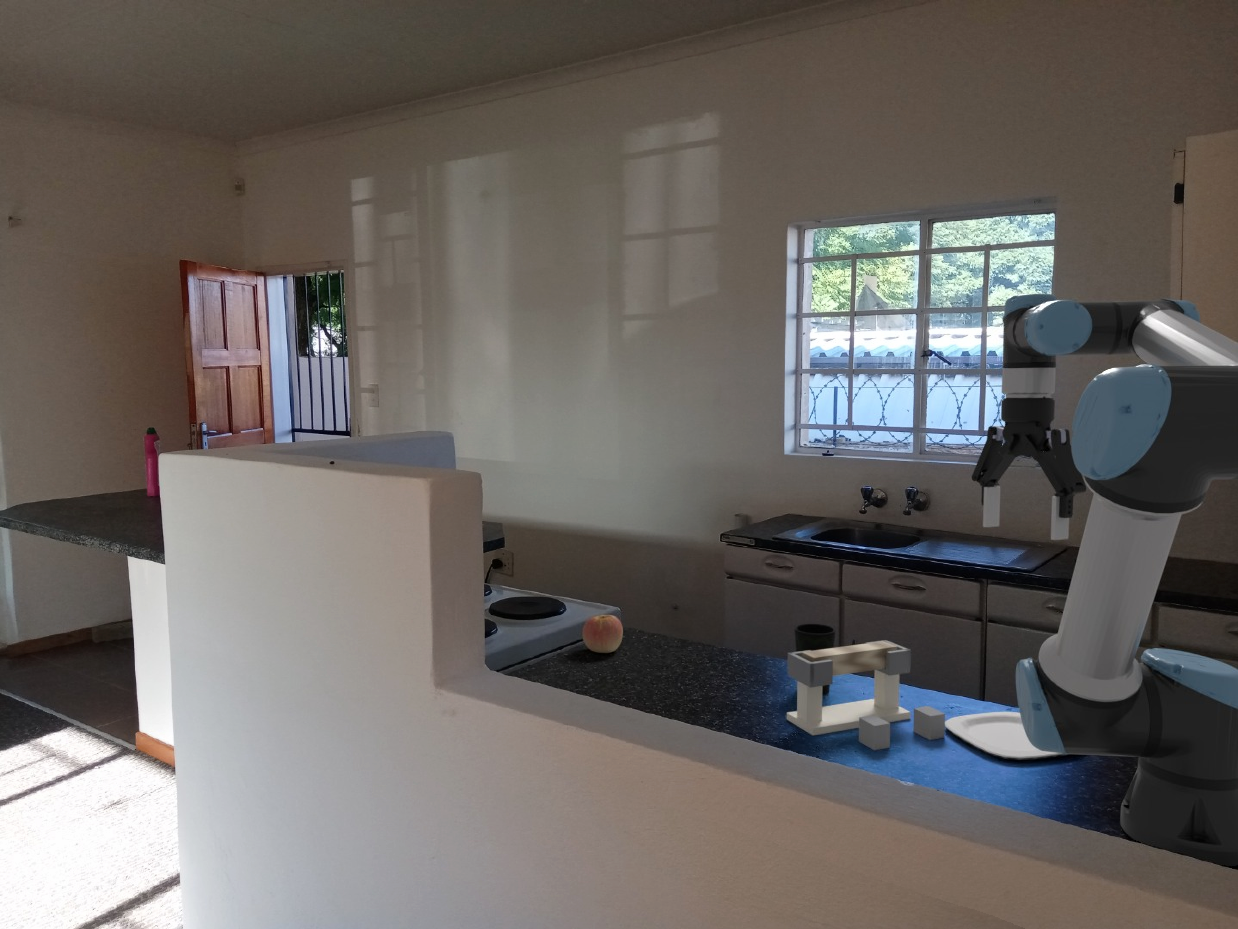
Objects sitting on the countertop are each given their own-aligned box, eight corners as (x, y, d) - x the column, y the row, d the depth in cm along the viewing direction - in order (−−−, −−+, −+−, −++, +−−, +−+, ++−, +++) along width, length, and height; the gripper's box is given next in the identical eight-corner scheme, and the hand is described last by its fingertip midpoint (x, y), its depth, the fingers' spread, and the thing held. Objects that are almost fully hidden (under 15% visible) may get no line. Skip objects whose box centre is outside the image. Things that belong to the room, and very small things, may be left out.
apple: (617, 658, 194) (617, 621, 193) (578, 655, 196) (577, 619, 195) (627, 647, 202) (626, 611, 201) (588, 644, 204) (588, 609, 203)
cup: (835, 698, 167) (836, 635, 166) (793, 696, 169) (794, 633, 168) (834, 685, 175) (834, 624, 174) (794, 682, 176) (794, 622, 176)
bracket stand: (911, 718, 157) (913, 651, 156) (811, 735, 149) (812, 665, 148) (882, 703, 164) (883, 639, 163) (785, 719, 157) (785, 652, 156)
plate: (1001, 771, 136) (1002, 760, 136) (930, 728, 154) (931, 718, 154) (1100, 758, 141) (1101, 747, 141) (1021, 717, 158) (1021, 708, 158)
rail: (883, 661, 161) (883, 641, 161) (896, 666, 158) (896, 646, 157) (801, 672, 155) (801, 652, 154) (813, 678, 151) (813, 657, 151)
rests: (944, 737, 148) (945, 713, 148) (874, 750, 143) (874, 726, 143) (927, 729, 152) (928, 706, 152) (858, 741, 147) (859, 717, 147)
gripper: (1116, 396, 129) (1111, 543, 131) (986, 395, 152) (983, 520, 154) (1077, 397, 126) (1072, 547, 128) (951, 396, 149) (948, 523, 151)
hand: (1023, 532), depth 141 cm, fingers open, 13 cm apart
